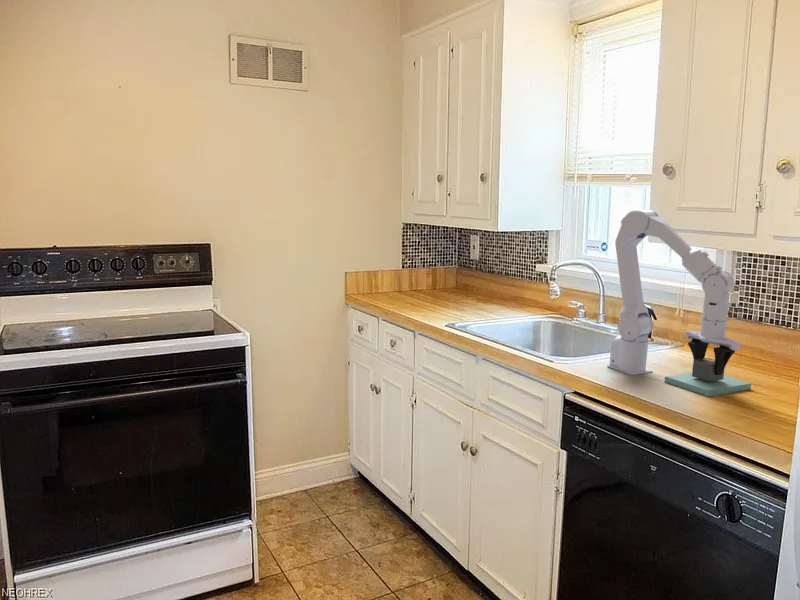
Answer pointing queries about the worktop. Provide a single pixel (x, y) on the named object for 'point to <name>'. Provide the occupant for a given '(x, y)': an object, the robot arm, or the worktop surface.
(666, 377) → the base
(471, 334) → the worktop surface
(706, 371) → the grey drawer cube
